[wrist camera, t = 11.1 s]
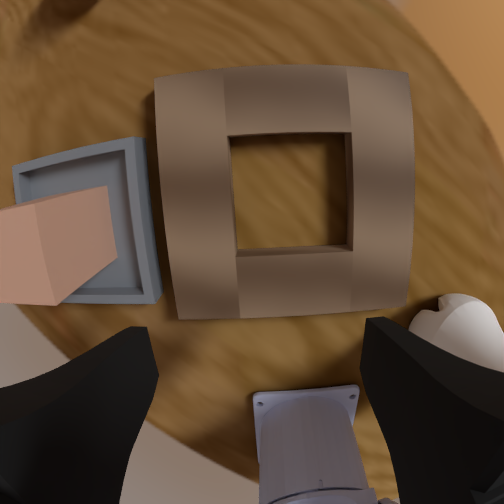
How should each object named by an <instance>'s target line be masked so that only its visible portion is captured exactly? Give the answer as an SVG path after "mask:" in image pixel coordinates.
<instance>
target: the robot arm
mask: <svg viewBox="0 0 504 504" xmlns="http://www.w3.org/2000/svg"><path fill="white" fill-rule="evenodd" d="M360 372H361V376H362V380H363V384H364V387H365V391H366V394H367V397H368V399H369V401H370V404H371V406H372V409H373V411H374V414H375V416H376V418H377V421H378V423H379V426H380V428H381V431H382V433H383V435H384V438H385V440H386V443H387V446H388V449H389V452H390V456H391V460H392V464H393V468H394V473H395V477H396V482H397V487H398V493H399V498H400V504H504V372H500V371H497V370H493V369H489V368H486V367H483V366H480V365H477V364H475V363H472V362H470V361H467V360H465V359H462V358H460V357H457V356H455V355H453V354H451V353H449V352H447V351H445V350H443V349H441V348H439V347H437V346H435V345H433V344H431V343H430V342H428V341H426V340H424V339H422V338H421V337H419V336H417V335H416V334H414V333H412V332H410V331H409V330H407V329H405V328H404V327H402V326H400V325H399V324H397V323H395V322H393V321H391V320H390V319H388V318H385V317H374V318H366V324H365V332H364V340H363V348H362V355H361V362H360ZM158 377H159V373H158V370H157V366H156V362H155V358H154V355H153V351H152V347H151V343H150V338H149V334H148V330H147V327H133V326H131V327H128V328H126V329H124V330H122V331H120V332H119V333H117V334H115V335H114V336H112V337H110V338H109V339H107V340H105V341H104V342H102V343H100V344H99V345H97V346H95V347H94V348H92V349H91V350H89V351H87V352H85V353H84V354H82V355H80V356H78V357H77V358H75V359H73V360H71V361H69V362H68V363H66V364H64V365H62V366H60V367H58V368H56V369H54V370H52V371H49V372H47V373H45V374H42V375H40V376H37V377H35V378H32V379H29V380H26V381H23V382H20V383H17V384H14V385H11V386H7V387H3V388H0V504H119V500H120V496H121V491H122V486H123V481H124V476H125V472H126V469H127V465H128V461H129V457H130V454H131V451H132V448H133V445H134V443H135V441H136V438H137V436H138V433H139V431H140V429H141V426H142V424H143V422H144V419H145V417H146V415H147V412H148V410H149V407H150V405H151V402H152V400H153V397H154V393H155V389H156V385H157V381H158ZM359 392H360V389H359V387H358V385H346V386H337V387H328V388H317V389H305V390H291V391H272V392H257V393H255V394H254V395H253V409H254V420H255V432H256V443H257V454H258V463H259V464H260V472H259V504H398V503H396V502H394V501H391V499H389V498H383V499H380V500H378V501H377V498H376V494H375V490H374V488H369V486H368V482H367V478H366V474H365V471H364V467H363V463H362V459H361V456H360V452H359V449H358V445H357V441H356V438H355V434H354V431H353V427H352V426H353V422H354V417H355V412H356V407H357V402H358V397H359ZM351 395H353V396H351ZM258 402H262V403H258Z"/></svg>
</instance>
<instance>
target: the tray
mask: <svg viewBox="0 0 504 504" xmlns="http://www.w3.org/2000/svg"><path fill="white" fill-rule="evenodd" d="M12 170H13V181H14V191H15V199H16V205H17V204H20V203H24V202H28V201H31V200H35V199H39V198H43V197H47V196H51V195H55V194H61V193H66V192H71V191H77V190H83V189H88V188H94V187H100V186H107V189H108V197H109V205H110V213H111V220H112V227H113V233H114V239H115V245H116V251H117V257H118V258H116V259H115V260H114V261H112V262H111V263H110V264H108V265H107V266H106V267H104V268H103V269H102V270H100V271H99V272H98V273H97V274H95V275H94V276H93V277H91V278H90V279H89V280H88V281H86V282H85V283H84V284H82V285H81V286H80V287H79V288H77V289H76V290H75V291H74V292H72V293H71V294H70V295H69V296H67V297H66V298H65V299H64V300H63V301H61V302H60V303H96V304H156V302H157V301H158V299H159V298H160V296H161V295H162V293H163V292H164V291H163V285H162V279H161V273H160V266H159V260H158V253H157V246H156V239H155V231H154V223H153V215H152V206H151V197H150V187H149V176H148V165H147V151H146V138H141V137H129V138H123V139H118V140H113V141H108V142H103V143H98V144H94V145H89V146H85V147H80V148H76V149H72V150H68V151H64V152H60V153H56V154H52V155H49V156H45V157H41V158H38V159H34V160H31V161H28V162H24V163H21V164H18V165H15V166H12Z"/></svg>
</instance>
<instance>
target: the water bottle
mask: <svg viewBox="0 0 504 504" xmlns="http://www.w3.org/2000/svg"><path fill="white" fill-rule="evenodd" d="M438 307H439V312H434V311H431V310H421V311H420V312H419V313H418V314H417V315H415V317H414V319H413V320H412V322H411V324H410V326H409V329H408V330H409V331H410V332H412V333H414V334H416V335H417V336H419V337H421V338H422V339H424V340H426V341H428V342H430V343H431V344H433V345H435V346H437V347H439V348H441V349H443V350H445V351H447V352H449V353H451V354H453V355H455V356H457V357H460V358H462V359H465V360H467V361H470V362H472V363H475V364H477V365H480V366H483V367H486V368H489V369H493V370H497V371H500V372H504V333H503V331H502V329H501V328H500V326H499V323H498V321H497V319H496V316H495V315H494V313H493V311H492V310H491V309H490V308H489V307H488V306H487V305H486V304H485V303H483V302H482V301H480V300H479V299H477V298H474V297H472V296H468V295H465V294H445V295H443V296H441V297H439V298H438Z"/></svg>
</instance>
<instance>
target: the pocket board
mask: <svg viewBox="0 0 504 504" xmlns="http://www.w3.org/2000/svg"><path fill="white" fill-rule="evenodd" d="M154 89H155V115H156V134H157V149H158V163H159V175H160V186H161V196H162V206H163V215H164V224H165V232H166V240H167V248H168V255H169V262H170V269H171V276H172V282H173V289H174V295H175V301H176V307H177V313H178V319H236V318H263V317H284V316H301V315H316V314H330V313H343V312H354V311H365V310H375V309H385V308H394V307H403V306H406V299H407V292H408V284H409V275H410V266H411V255H412V242H413V227H414V202H415V157H414V132H413V117H412V105H411V95H410V86H409V78H408V73H406V72H399V71H392V70H384V69H375V68H365V67H352V66H336V65H261V66H244V67H231V68H221V69H212V70H203V71H195V72H188V73H182V74H175V75H169V76H164V77H158V78H154ZM287 134H345V155H346V188H347V239H346V244H342V245H321V246H301V247H280V248H260V249H239V250H237V237H236V223H235V209H234V195H233V181H232V166H231V151H230V138H232V137H246V136H263V135H287Z"/></svg>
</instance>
